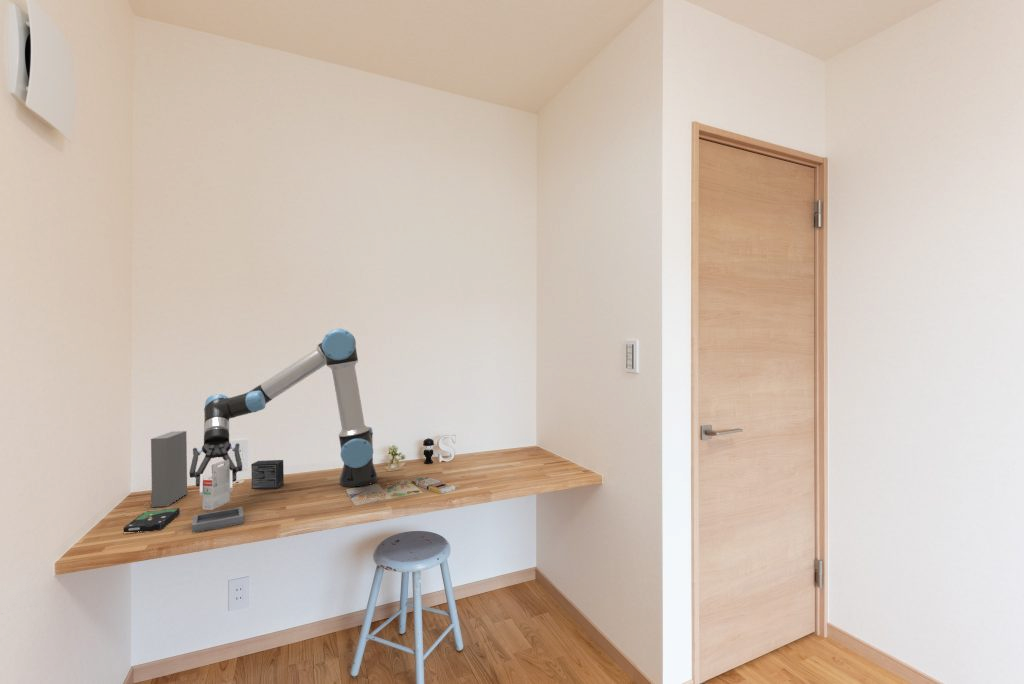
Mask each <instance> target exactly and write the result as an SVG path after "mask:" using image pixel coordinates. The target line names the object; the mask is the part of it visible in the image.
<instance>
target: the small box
mask: <svg viewBox="0 0 1024 684" xmlns="http://www.w3.org/2000/svg"><path fill="white" fill-rule="evenodd" d="M250 467H251V490H252V489H258V490H274V489H275V490H277V489H279V488H281V487H282V486H283V485H285V482H284V479H285V477H284V476H285V474H284V459H273V460H269V459H267V460H257V461H255V462H253V463H251V466H250ZM280 486H281V487H280Z"/></svg>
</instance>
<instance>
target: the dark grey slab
mask: <svg viewBox="0 0 1024 684" xmlns="http://www.w3.org/2000/svg"><path fill="white" fill-rule="evenodd" d="M187 441H188V440H187V431H186V430H181V431H180V430H179V431H177V430H176V431H170V432H166V433H164V434H160V435H157V436H156V437H152V438H150V448H151V449H150V459H151V461H150V462H151V464H150V465H151V471H150V472H151V494H150V502H151V503H149V508H151V507H153V508H157V507H158V508H159V507H160V508H162V507H165V506H168V507H169V506H170V505H172V504H173V502H174V503H175V502H177V501H179V500H180V499H181V497H182V496H183V497H185V496H186V495H185V494H187V493H189V492H188V458H187V457H188V456H187V453H188V451H187V449H188V447H187ZM184 495H185V496H184ZM187 495H188V494H187ZM183 497H182V498H183ZM179 498H180V499H179ZM176 500H177V501H176Z"/></svg>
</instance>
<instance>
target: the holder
mask: <svg viewBox="0 0 1024 684" xmlns="http://www.w3.org/2000/svg"><path fill="white" fill-rule="evenodd" d="M237 524H238V525H243V524H244V511H243V506H239V507H234V508H228V509H227V508H226V509H222V510H215V511H211V512H204V513H199V514H194V515H193V517H192V524H191V530H192V531H191V533H192V534H194V533H193V532H196V533H200V532H199V531H201V532H205V530H207V531H211V529H212V530H216V529H221V528H226V527H227V526H228V527H231V526H232V525H233V526H237ZM233 526H232V527H233Z"/></svg>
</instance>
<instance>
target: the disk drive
mask: <svg viewBox="0 0 1024 684" xmlns="http://www.w3.org/2000/svg"><path fill="white" fill-rule="evenodd" d="M180 513H181V512H180V507H175V508H165V509H163V508H162V509H158V510H147V511H144V512H143V513H141V514H139V515H138V516H137V517H136V518H135V519H133V520H132V521H130V522H129V523H128V524H126V525H125V526H124V527H123V533H124V532H138V531H139V532H140V531H150V532H154V531H153V530H159V531H162V530H163V529H164V527H165V528H166V525H167V526H168V524H170V523H171V522H172V521H173V520H174V518H175V517H176V518H178V516H179V515H180ZM176 518H175V519H176ZM140 533H141V532H140Z"/></svg>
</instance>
